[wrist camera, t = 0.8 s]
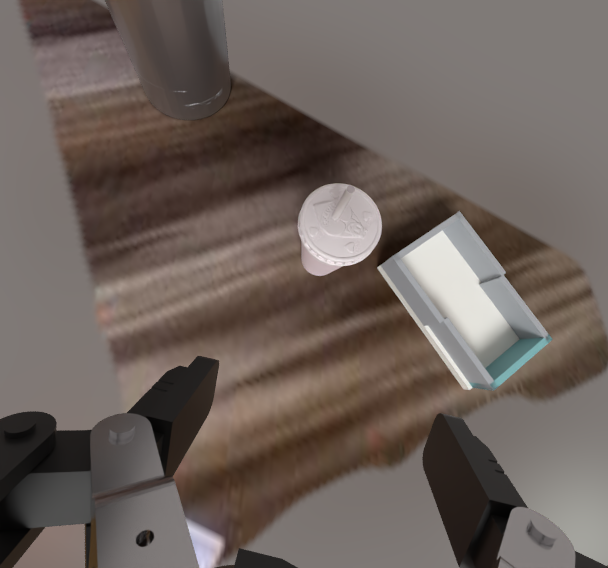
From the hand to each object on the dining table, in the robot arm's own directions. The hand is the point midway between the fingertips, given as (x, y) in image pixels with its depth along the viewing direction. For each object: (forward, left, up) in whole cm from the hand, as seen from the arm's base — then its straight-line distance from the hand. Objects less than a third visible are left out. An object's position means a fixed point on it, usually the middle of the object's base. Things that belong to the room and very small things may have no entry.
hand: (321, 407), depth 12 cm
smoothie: (-8, +9, -20) cm, 23 cm away
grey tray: (+4, +18, -20) cm, 27 cm away
